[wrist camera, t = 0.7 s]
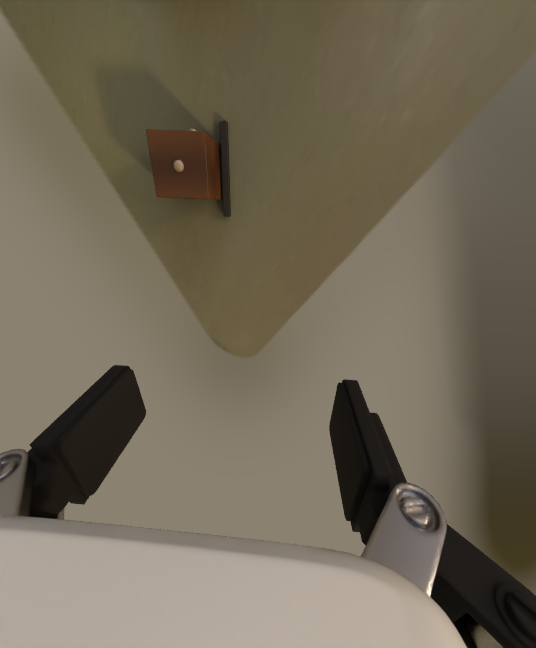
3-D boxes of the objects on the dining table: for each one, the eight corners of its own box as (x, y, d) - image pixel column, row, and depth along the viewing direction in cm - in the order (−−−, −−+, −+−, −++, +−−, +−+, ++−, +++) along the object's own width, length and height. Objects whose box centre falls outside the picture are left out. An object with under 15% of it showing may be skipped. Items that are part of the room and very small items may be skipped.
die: (167, 136, 29) (136, 121, 23) (219, 138, 28) (202, 123, 23) (174, 197, 32) (149, 196, 26) (222, 199, 31) (207, 199, 26)
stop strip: (221, 122, 28) (219, 120, 27) (228, 123, 28) (226, 121, 27) (225, 216, 32) (223, 216, 32) (230, 216, 32) (229, 216, 32)
